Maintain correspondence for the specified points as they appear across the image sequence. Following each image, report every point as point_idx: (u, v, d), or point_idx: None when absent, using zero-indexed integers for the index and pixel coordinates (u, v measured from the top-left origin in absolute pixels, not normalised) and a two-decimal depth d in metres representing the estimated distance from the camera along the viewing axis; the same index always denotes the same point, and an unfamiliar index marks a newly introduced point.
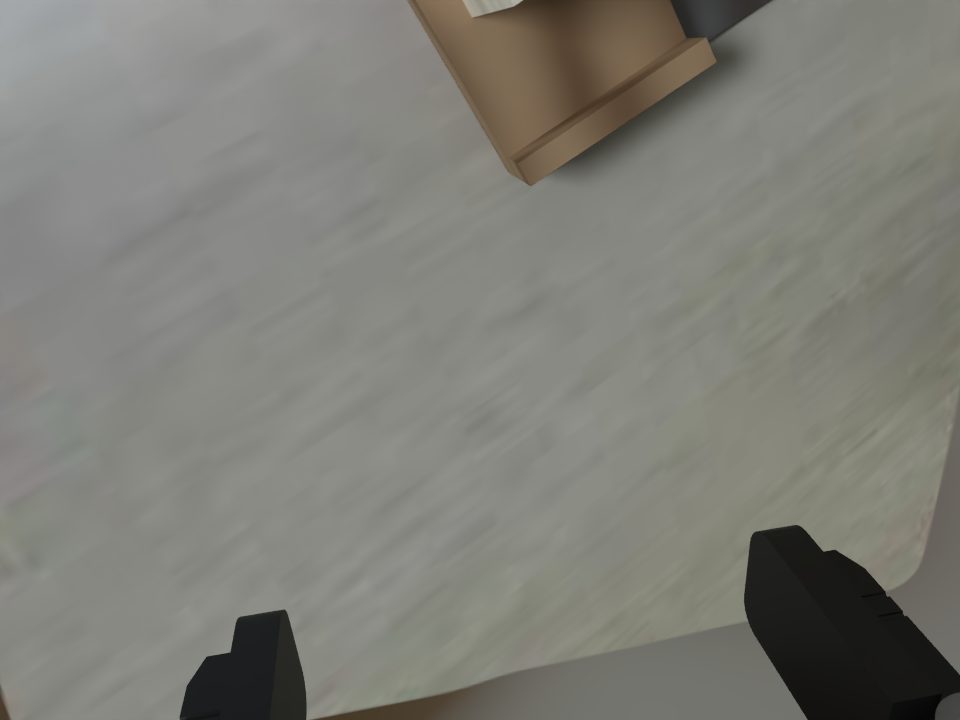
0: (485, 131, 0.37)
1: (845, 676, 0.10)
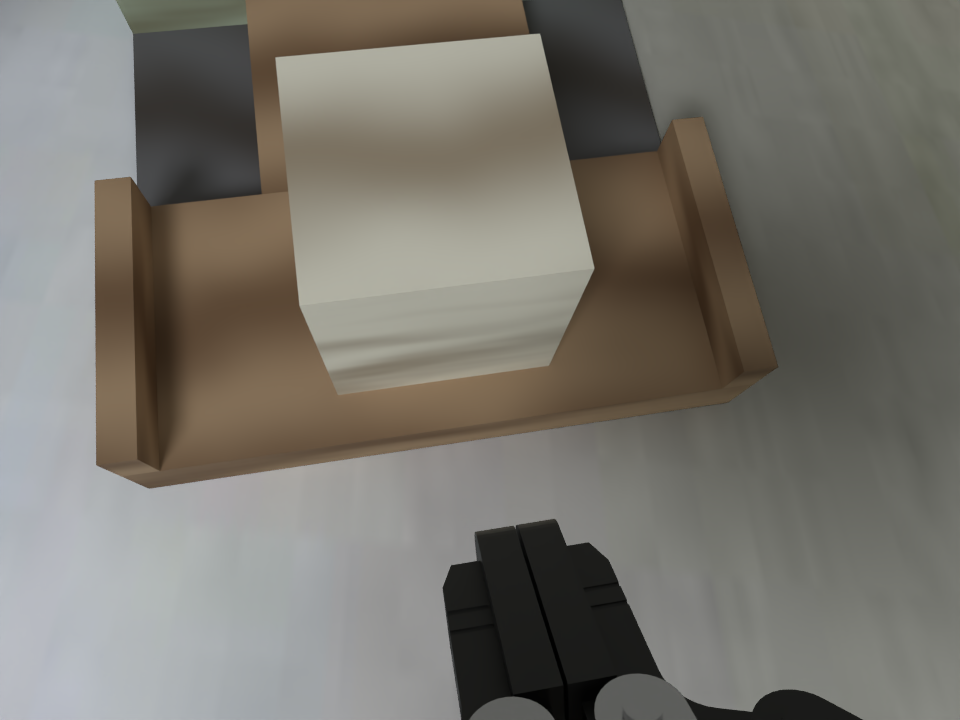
0: (671, 409, 0.29)
1: None
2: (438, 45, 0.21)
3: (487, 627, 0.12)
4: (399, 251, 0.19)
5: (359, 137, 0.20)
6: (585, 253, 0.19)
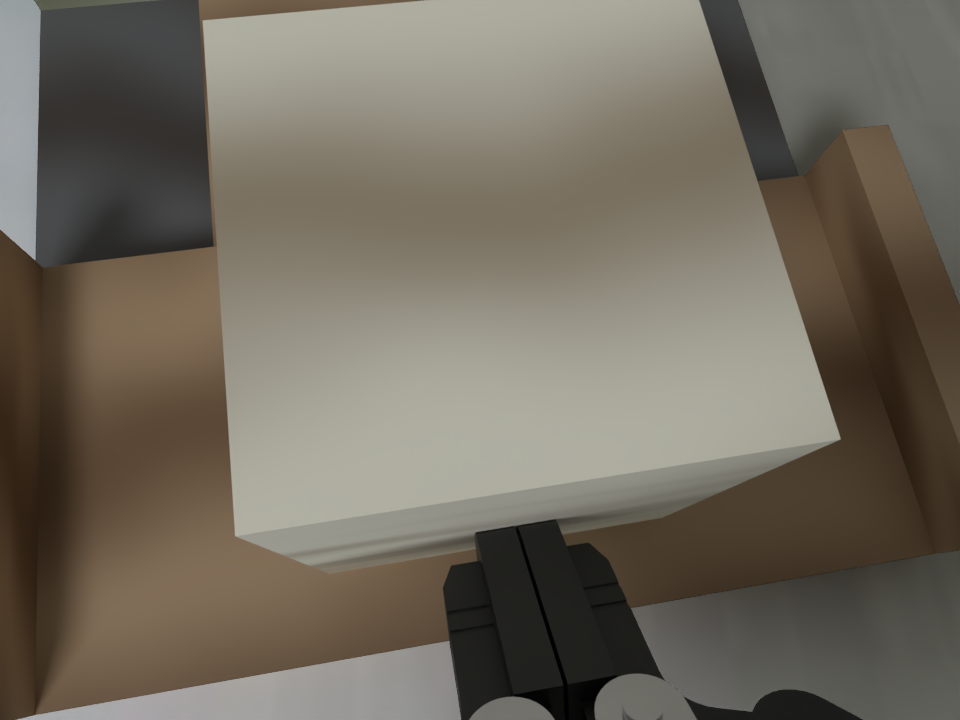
0: None
1: None
2: None
3: (487, 627, 0.12)
4: (443, 410, 0.09)
5: (363, 173, 0.10)
6: (819, 407, 0.10)
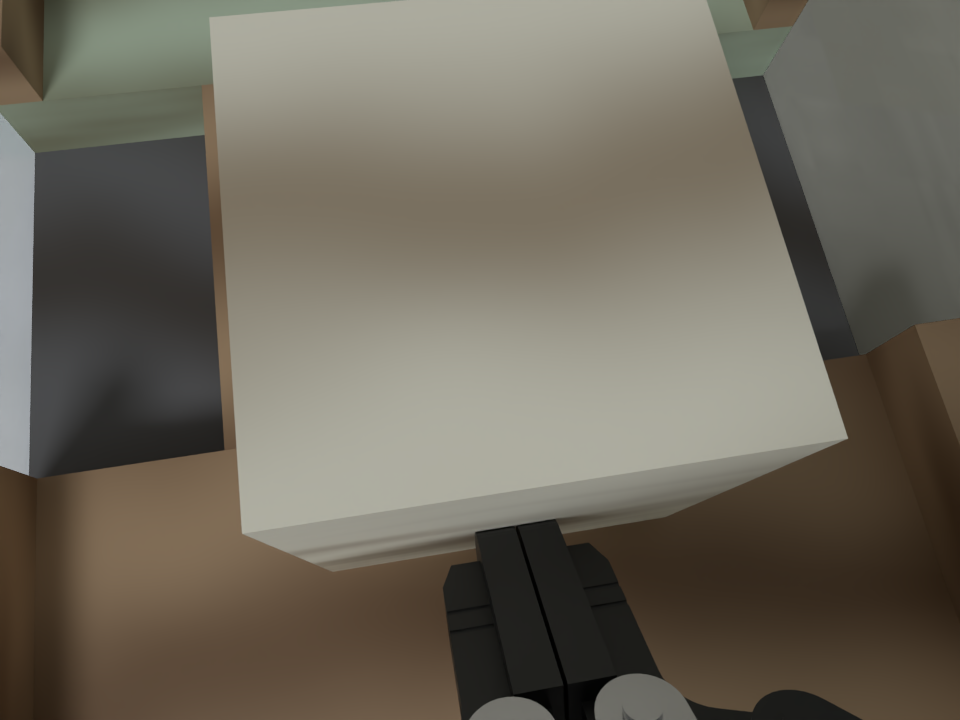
0: None
1: None
2: None
3: (487, 627, 0.12)
4: (450, 408, 0.09)
5: (369, 170, 0.10)
6: (826, 406, 0.10)
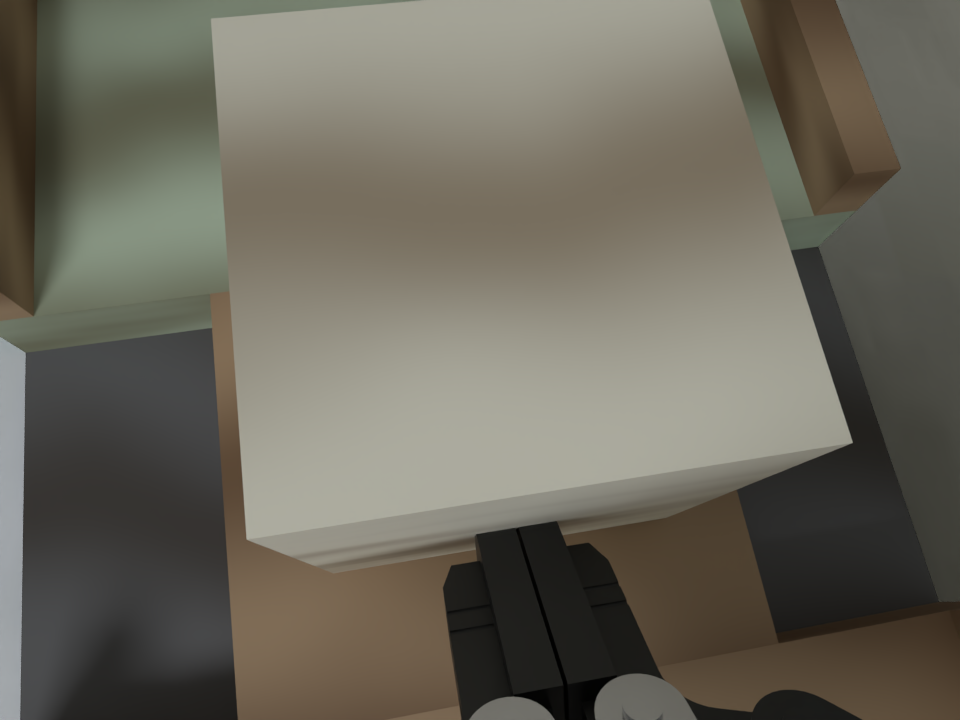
0: None
1: None
2: None
3: (487, 627, 0.12)
4: (454, 413, 0.09)
5: (373, 174, 0.10)
6: (831, 410, 0.10)
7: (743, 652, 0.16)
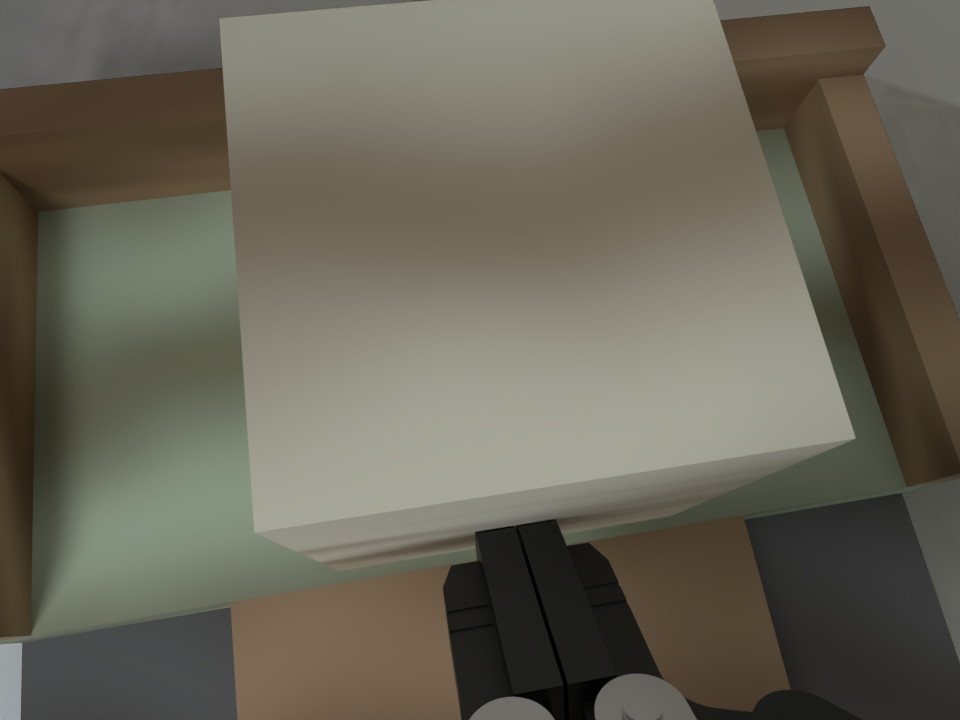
0: None
1: None
2: None
3: (487, 627, 0.12)
4: (460, 408, 0.09)
5: (379, 171, 0.10)
6: (834, 406, 0.10)
7: None
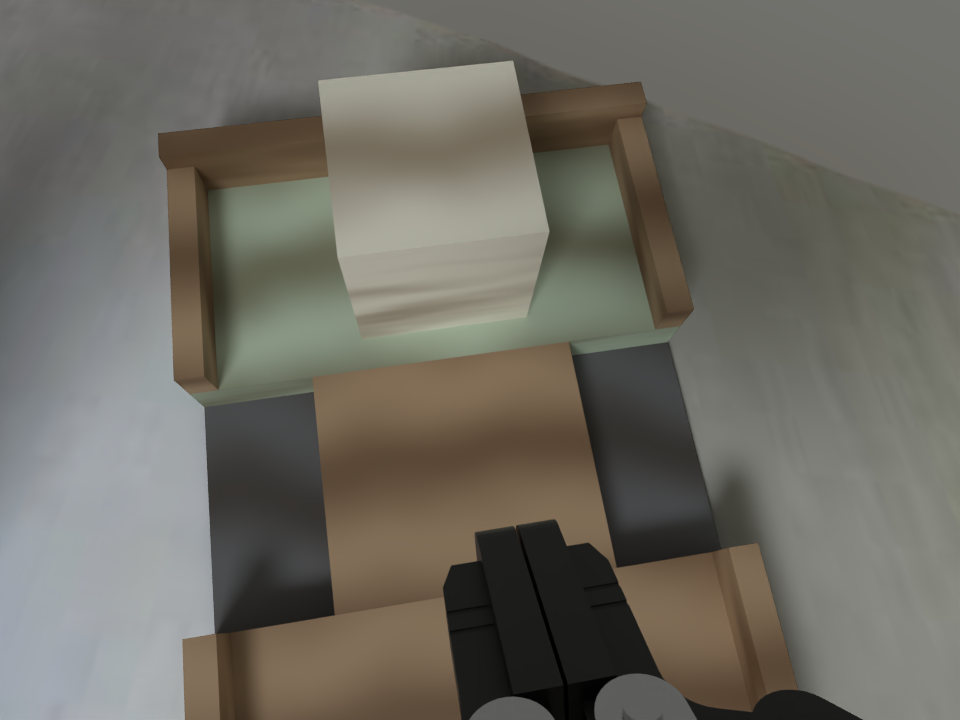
0: None
1: None
2: (437, 70, 0.29)
3: (487, 627, 0.12)
4: (408, 220, 0.27)
5: (380, 138, 0.28)
6: (543, 220, 0.27)
7: None
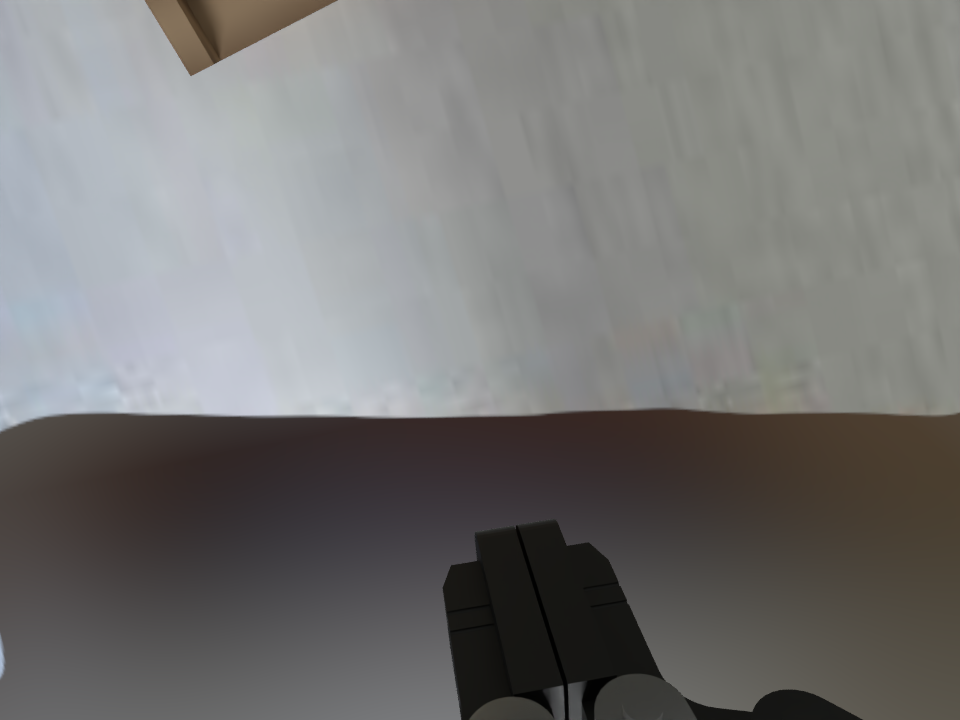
0: None
1: None
2: None
3: (487, 627, 0.12)
4: None
5: None
6: None
7: None
